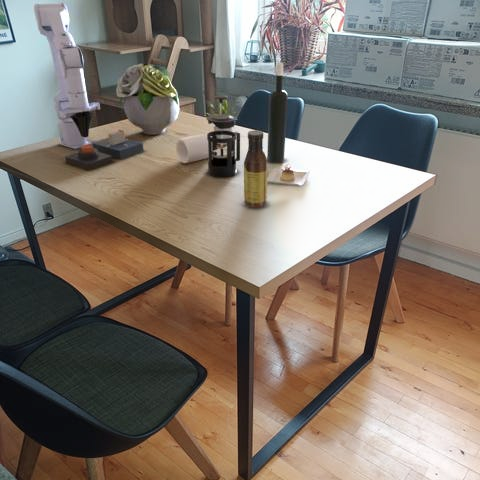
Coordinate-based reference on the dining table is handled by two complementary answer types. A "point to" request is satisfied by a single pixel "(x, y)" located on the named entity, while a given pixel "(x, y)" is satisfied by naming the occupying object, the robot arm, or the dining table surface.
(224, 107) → the house plant
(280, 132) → the wine bottle
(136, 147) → the dial panel
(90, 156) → the button base
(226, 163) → the french press
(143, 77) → the flower arrangement
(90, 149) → the button
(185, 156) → the mug
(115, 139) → the grey rectangular block
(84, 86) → the robot arm
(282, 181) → the dessert
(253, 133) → the sauce bottle
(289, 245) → the dining table surface
